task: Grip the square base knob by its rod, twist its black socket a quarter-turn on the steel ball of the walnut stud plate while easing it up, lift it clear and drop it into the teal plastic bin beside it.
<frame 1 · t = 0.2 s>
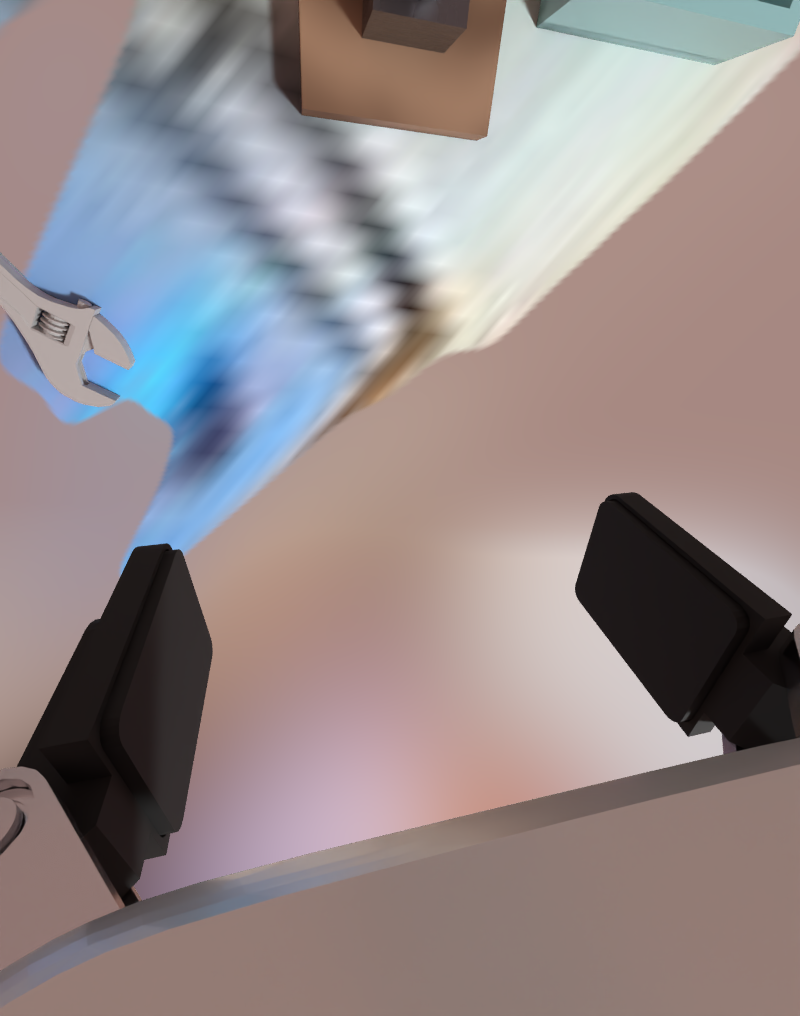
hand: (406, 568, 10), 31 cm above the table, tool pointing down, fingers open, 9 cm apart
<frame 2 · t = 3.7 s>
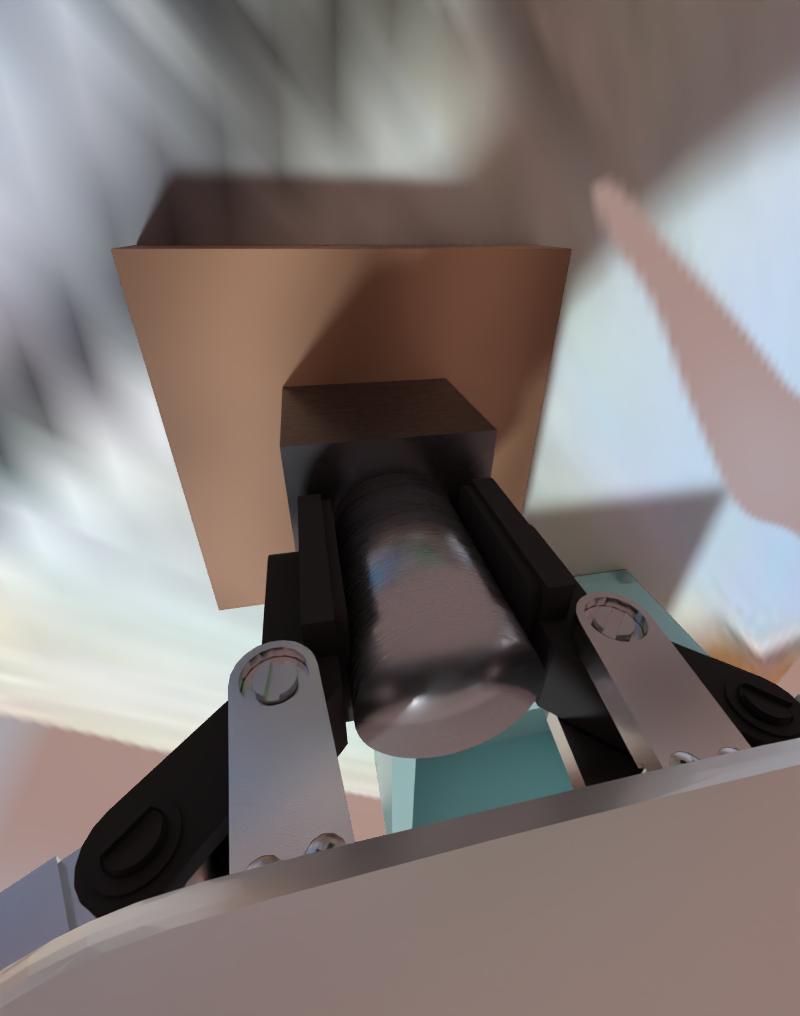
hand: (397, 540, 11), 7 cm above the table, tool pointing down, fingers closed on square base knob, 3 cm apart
bin: (488, 673, 26), on the table
stud plate: (361, 433, 16), on the table
square base knob: (369, 456, 15), point 2 cm above the table, touching gripper, stud plate
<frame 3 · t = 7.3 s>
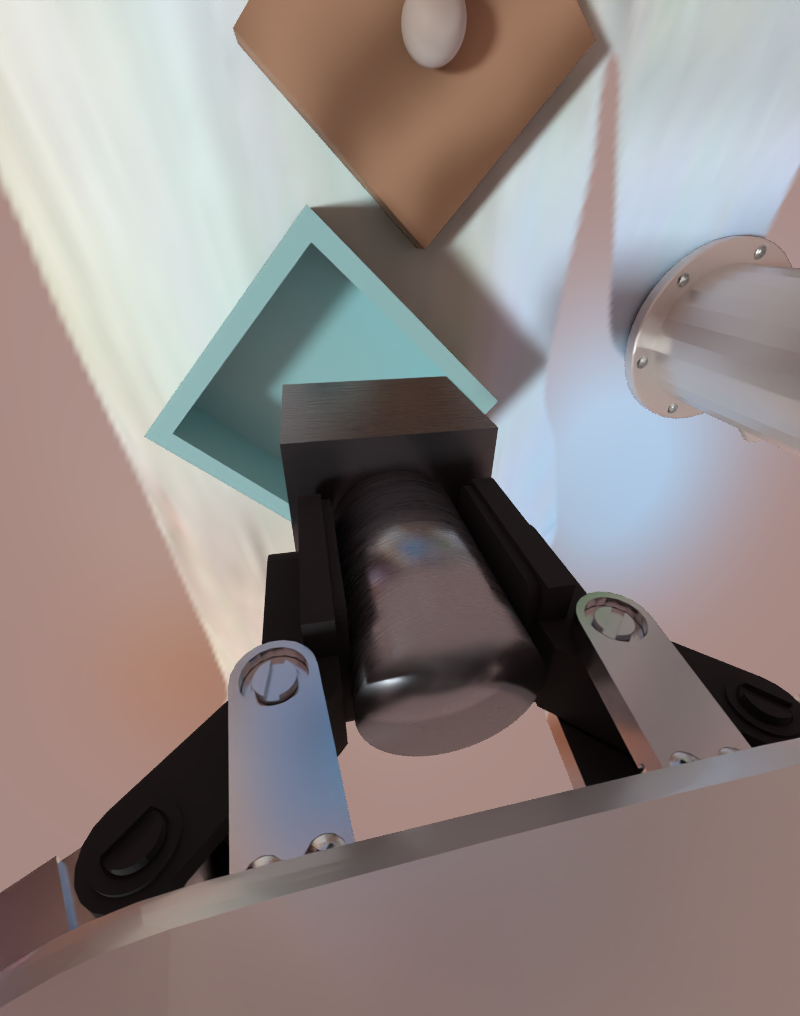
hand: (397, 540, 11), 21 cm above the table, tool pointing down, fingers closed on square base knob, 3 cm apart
bin: (325, 385, 30), on the table
stud plate: (415, 48, 22), on the table
square base knob: (369, 454, 15), point 17 cm above the table, touching gripper
when the fingers open (8 cm above the table, at t = 10.8 s): square base knob drops 2 cm, resting on bin.
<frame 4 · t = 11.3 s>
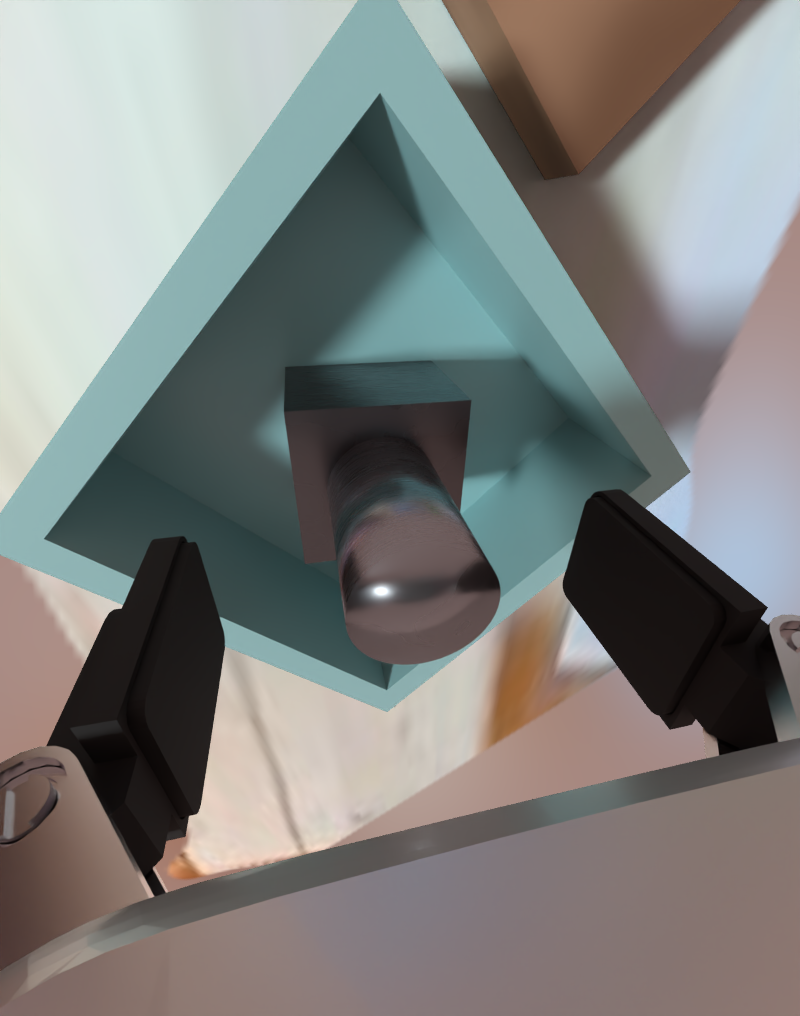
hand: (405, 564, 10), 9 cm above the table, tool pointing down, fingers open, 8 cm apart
bin: (357, 422, 17), on the table
square base knob: (362, 431, 16), point 1 cm above the table, touching bin
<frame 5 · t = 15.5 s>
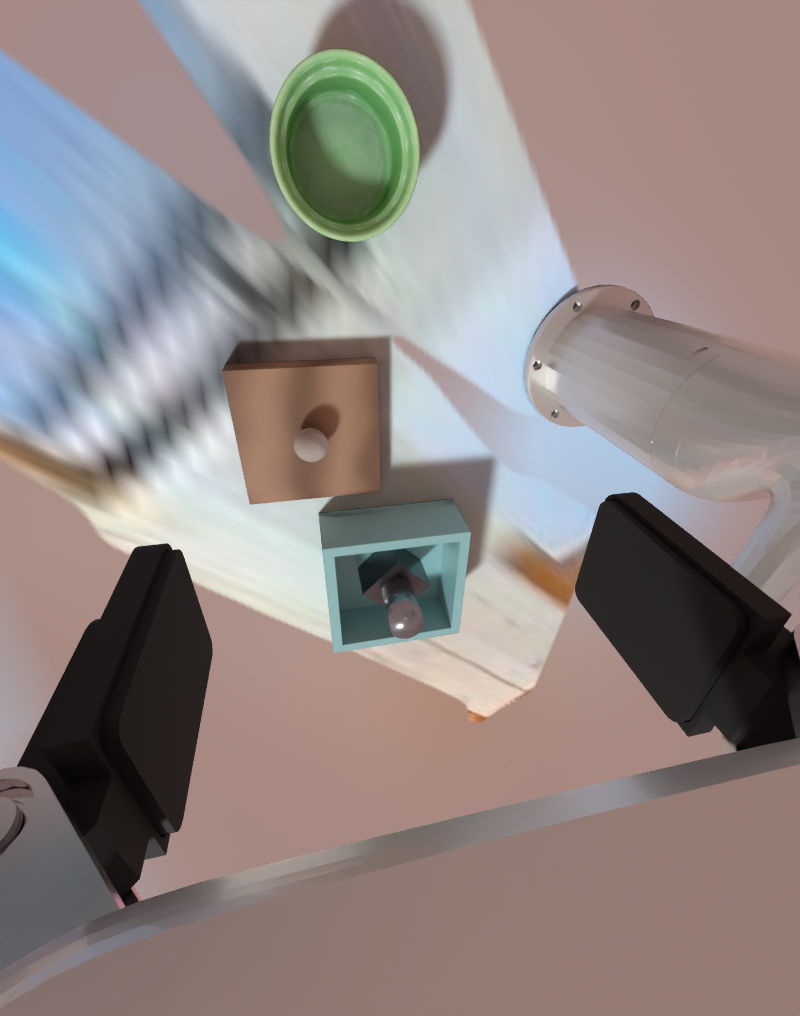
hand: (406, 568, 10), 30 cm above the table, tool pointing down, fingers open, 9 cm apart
ramekin: (340, 162, 30), on the table
bin: (387, 558, 49), on the table
stud plate: (309, 429, 39), on the table
square base knob: (389, 563, 48), point 1 cm above the table, touching bin
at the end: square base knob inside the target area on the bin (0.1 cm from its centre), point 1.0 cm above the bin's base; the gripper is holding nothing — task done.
